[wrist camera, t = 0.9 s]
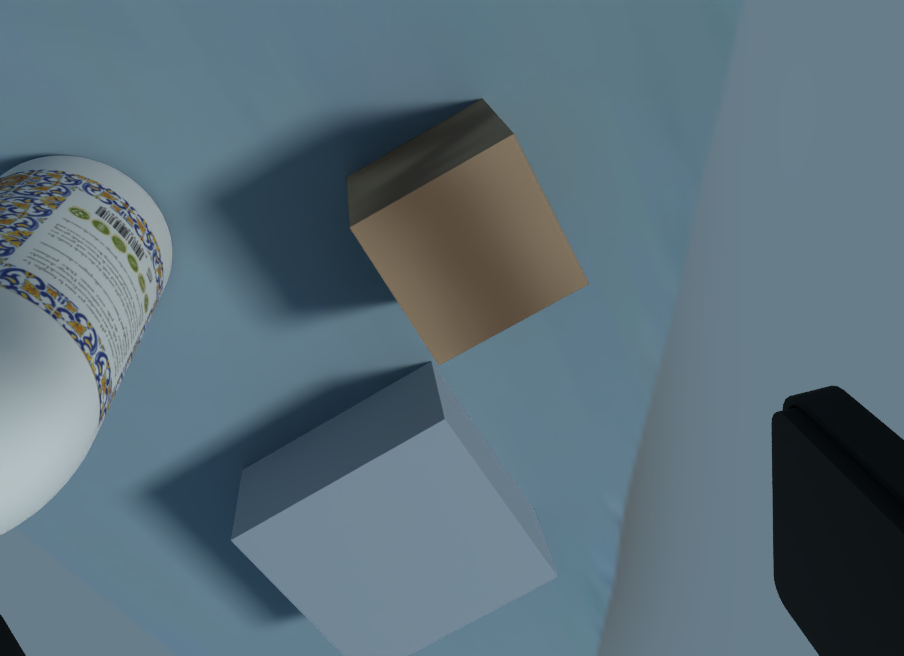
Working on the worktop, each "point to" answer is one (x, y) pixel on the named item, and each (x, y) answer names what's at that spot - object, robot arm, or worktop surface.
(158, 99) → the worktop surface
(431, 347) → the walnut cube
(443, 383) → the base block
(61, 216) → the bath foam
